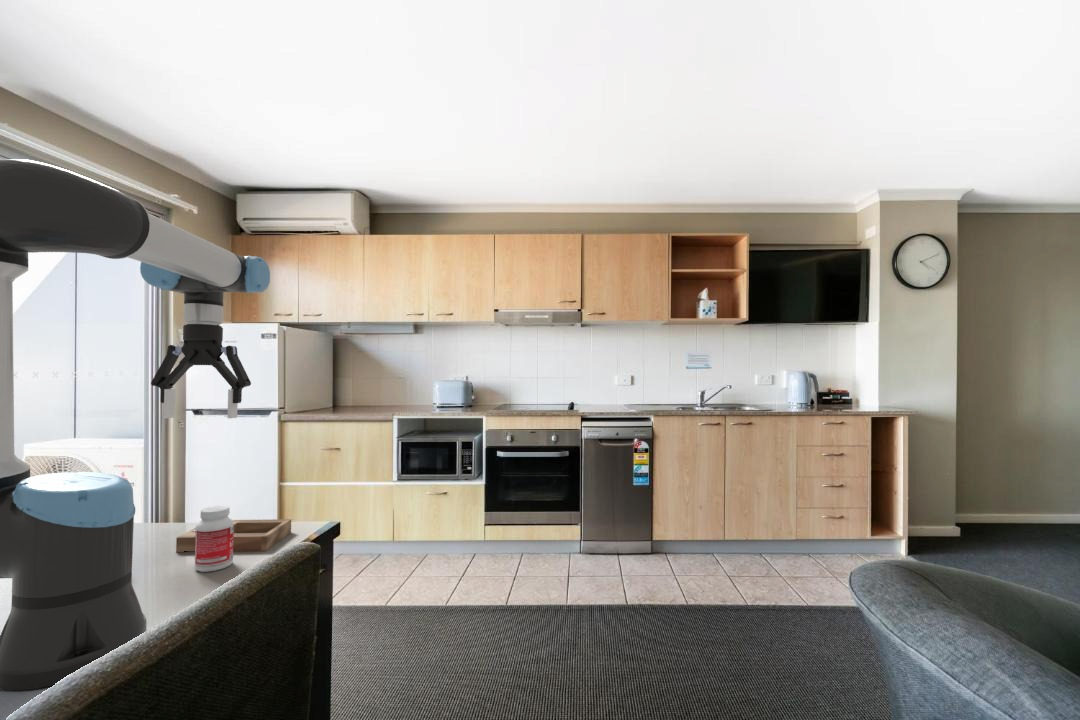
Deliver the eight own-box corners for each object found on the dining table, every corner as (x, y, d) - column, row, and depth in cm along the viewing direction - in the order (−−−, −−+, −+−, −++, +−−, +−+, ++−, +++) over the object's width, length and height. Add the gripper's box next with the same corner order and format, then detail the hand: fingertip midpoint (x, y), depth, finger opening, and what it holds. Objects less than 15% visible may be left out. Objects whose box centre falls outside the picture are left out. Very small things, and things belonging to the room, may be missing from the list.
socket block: (266, 550, 104) (266, 535, 104) (176, 552, 103) (176, 536, 103) (291, 532, 116) (291, 518, 116) (210, 533, 115) (210, 519, 115)
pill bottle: (236, 566, 96) (238, 508, 96) (199, 575, 92) (200, 515, 92) (227, 557, 100) (228, 502, 100) (191, 566, 96) (192, 508, 96)
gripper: (268, 326, 118) (266, 416, 118) (156, 325, 116) (154, 416, 116) (252, 323, 111) (250, 419, 110) (133, 321, 109) (130, 419, 108)
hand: (201, 418), depth 113 cm, fingers open, 13 cm apart
